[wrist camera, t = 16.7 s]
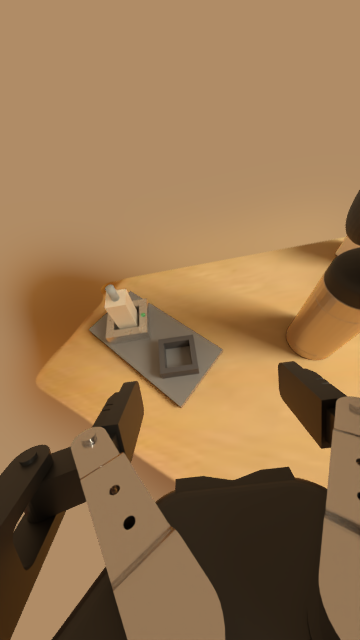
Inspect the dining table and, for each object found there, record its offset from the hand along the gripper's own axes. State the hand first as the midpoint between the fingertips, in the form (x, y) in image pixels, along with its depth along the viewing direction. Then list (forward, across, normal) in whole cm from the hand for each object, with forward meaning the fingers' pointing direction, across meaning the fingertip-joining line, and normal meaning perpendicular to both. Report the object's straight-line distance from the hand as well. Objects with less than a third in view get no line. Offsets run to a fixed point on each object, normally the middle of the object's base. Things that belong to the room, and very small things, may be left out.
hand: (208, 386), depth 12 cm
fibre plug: (+37, +14, +4) cm, 39 cm away
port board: (+35, +9, +8) cm, 37 cm away
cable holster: (+30, +4, +11) cm, 32 cm away
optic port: (+37, +14, +4) cm, 39 cm away
